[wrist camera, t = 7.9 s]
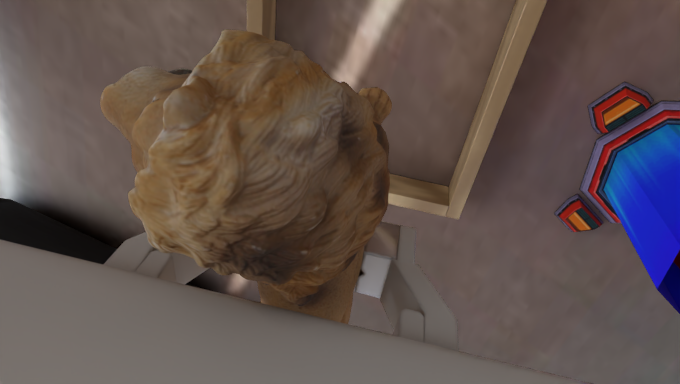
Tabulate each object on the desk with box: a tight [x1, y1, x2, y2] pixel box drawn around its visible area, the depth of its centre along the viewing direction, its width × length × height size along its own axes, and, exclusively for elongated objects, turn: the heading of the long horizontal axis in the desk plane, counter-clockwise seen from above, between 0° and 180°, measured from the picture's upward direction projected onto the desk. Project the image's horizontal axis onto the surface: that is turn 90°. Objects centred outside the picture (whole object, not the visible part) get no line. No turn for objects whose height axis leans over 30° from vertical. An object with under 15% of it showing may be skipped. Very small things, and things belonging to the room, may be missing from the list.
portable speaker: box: [0, 198, 199, 288], centre depth 41 cm, size 26×10×10 cm, turn 64°
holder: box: [247, 0, 547, 219], centre depth 26 cm, size 16×20×2 cm
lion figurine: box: [100, 29, 392, 324], centre depth 13 cm, size 15×5×9 cm, turn 4°
